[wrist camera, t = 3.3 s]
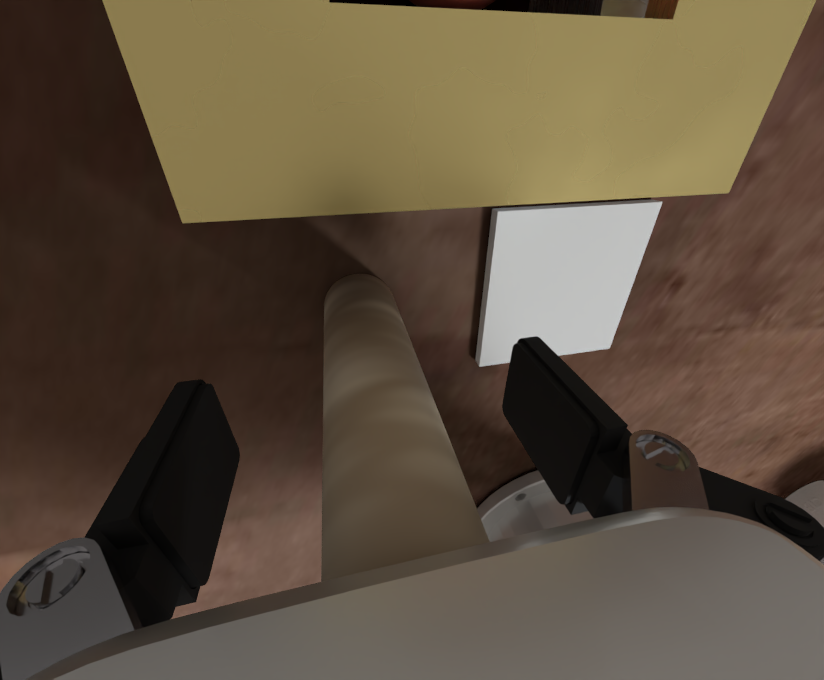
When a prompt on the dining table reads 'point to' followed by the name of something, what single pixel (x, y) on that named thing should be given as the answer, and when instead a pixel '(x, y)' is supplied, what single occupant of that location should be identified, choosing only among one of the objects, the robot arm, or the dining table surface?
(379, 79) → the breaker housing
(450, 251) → the dining table surface
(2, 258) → the dining table surface
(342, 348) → the beige cylinder rod
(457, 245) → the dining table surface
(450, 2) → the button
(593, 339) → the pad
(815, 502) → the dixie cup
